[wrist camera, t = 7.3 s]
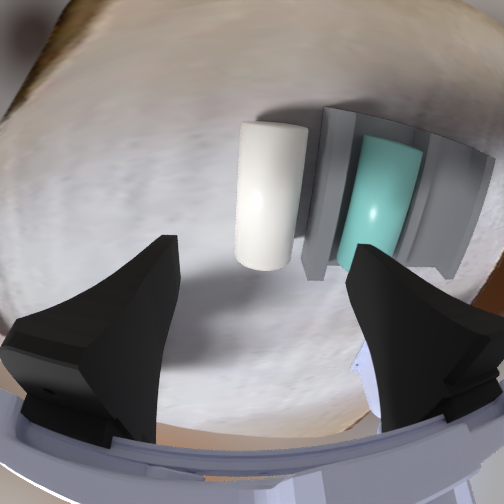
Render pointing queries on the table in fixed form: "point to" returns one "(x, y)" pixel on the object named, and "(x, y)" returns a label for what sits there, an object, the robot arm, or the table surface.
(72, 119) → the table surface
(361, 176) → the teal rod
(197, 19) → the table surface
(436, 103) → the table surface
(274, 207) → the white rod
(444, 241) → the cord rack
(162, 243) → the robot arm
